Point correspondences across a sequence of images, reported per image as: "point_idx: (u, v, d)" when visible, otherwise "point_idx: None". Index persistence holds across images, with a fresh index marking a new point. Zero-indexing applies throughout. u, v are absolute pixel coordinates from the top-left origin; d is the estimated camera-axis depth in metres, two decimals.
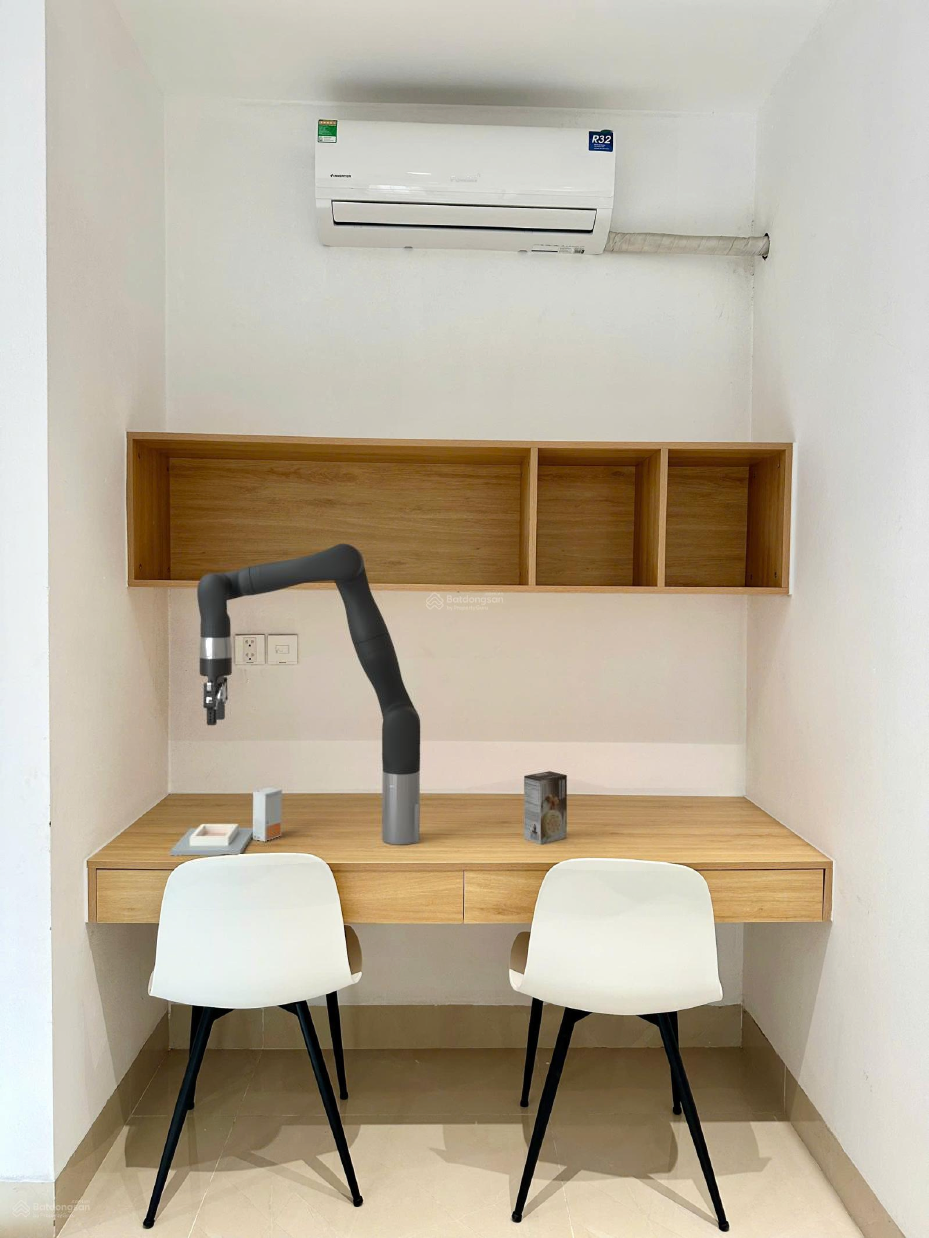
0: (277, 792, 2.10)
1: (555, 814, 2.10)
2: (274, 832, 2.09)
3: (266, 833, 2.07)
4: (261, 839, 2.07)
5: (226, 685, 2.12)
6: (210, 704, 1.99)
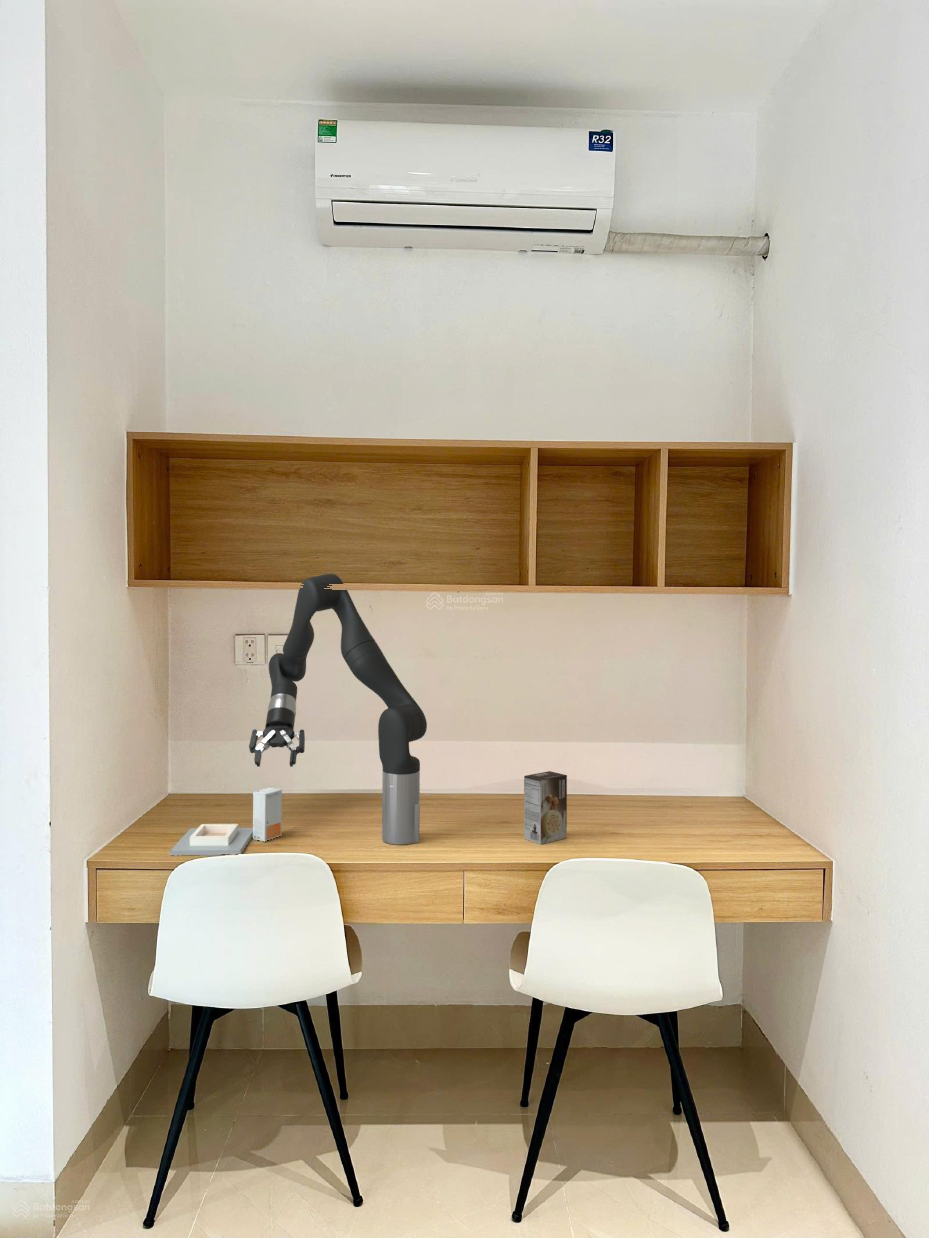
0: (277, 792, 2.10)
1: (555, 814, 2.10)
2: (274, 832, 2.09)
3: (266, 833, 2.07)
4: (261, 839, 2.07)
5: (300, 736, 2.26)
6: None
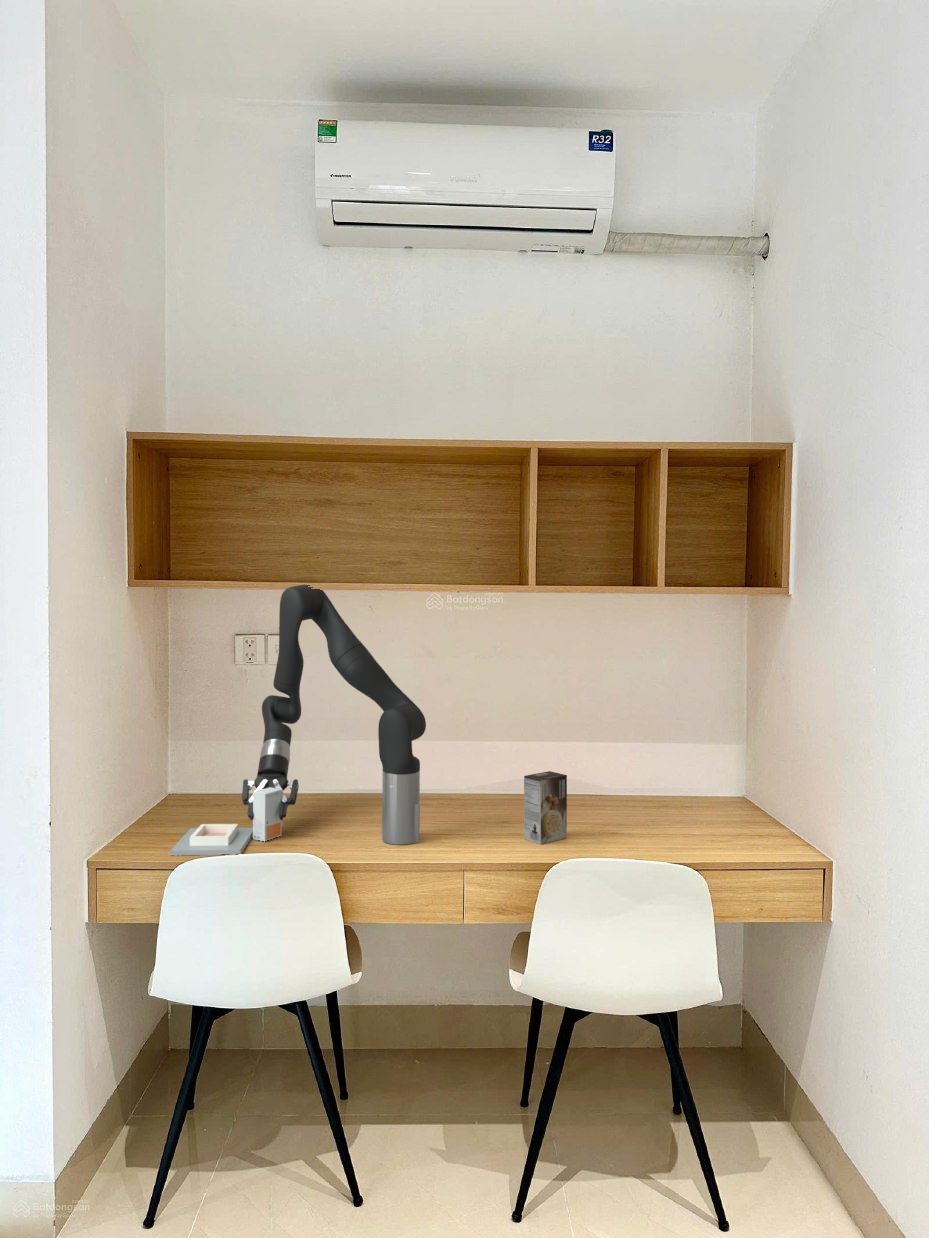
0: (277, 792, 2.10)
1: (555, 814, 2.10)
2: (274, 832, 2.09)
3: (265, 832, 2.07)
4: (261, 839, 2.07)
5: (293, 786, 2.14)
6: None
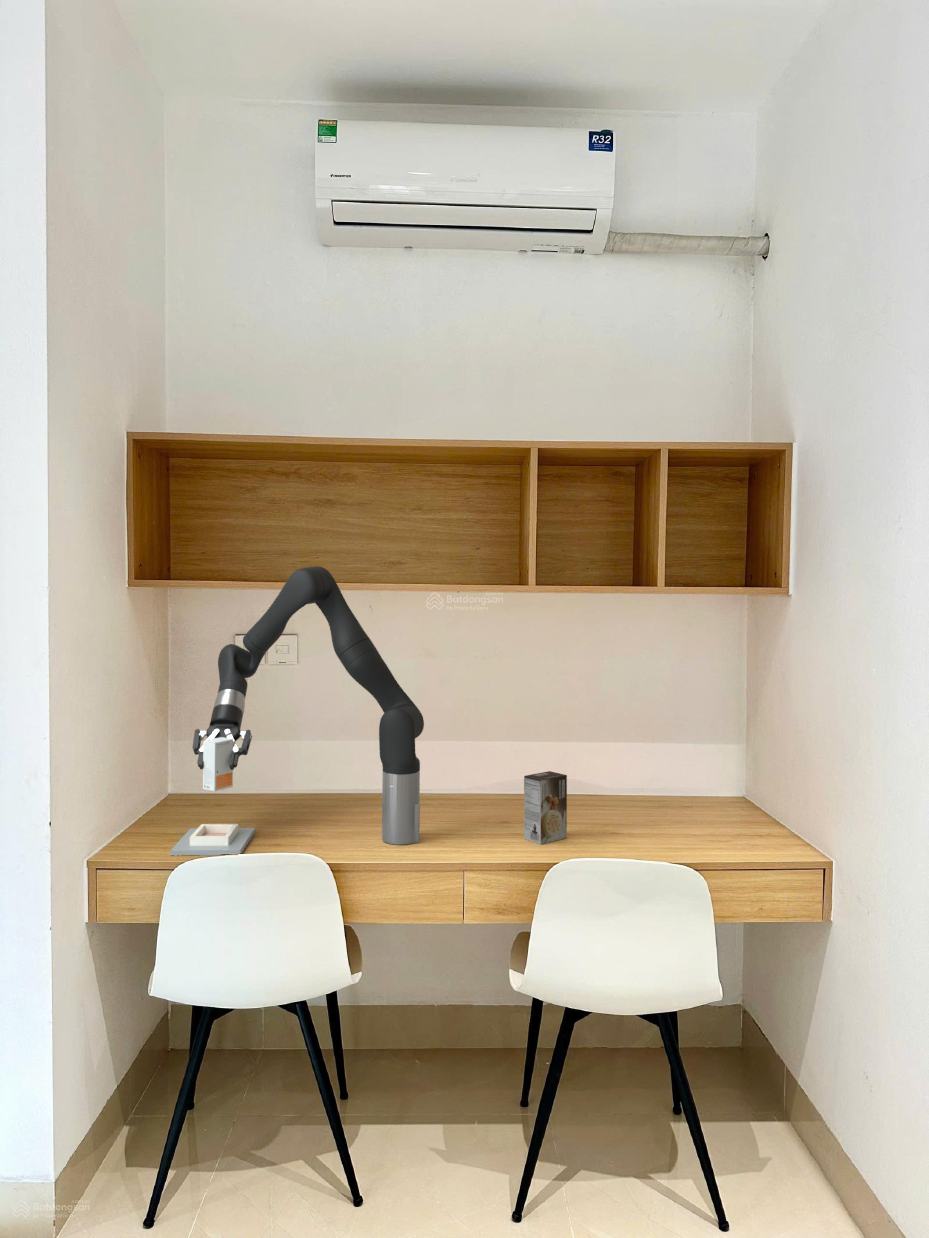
0: (228, 741, 2.06)
1: (555, 814, 2.10)
2: (224, 782, 2.05)
3: (215, 782, 2.03)
4: (211, 788, 2.03)
5: (245, 736, 2.09)
6: None
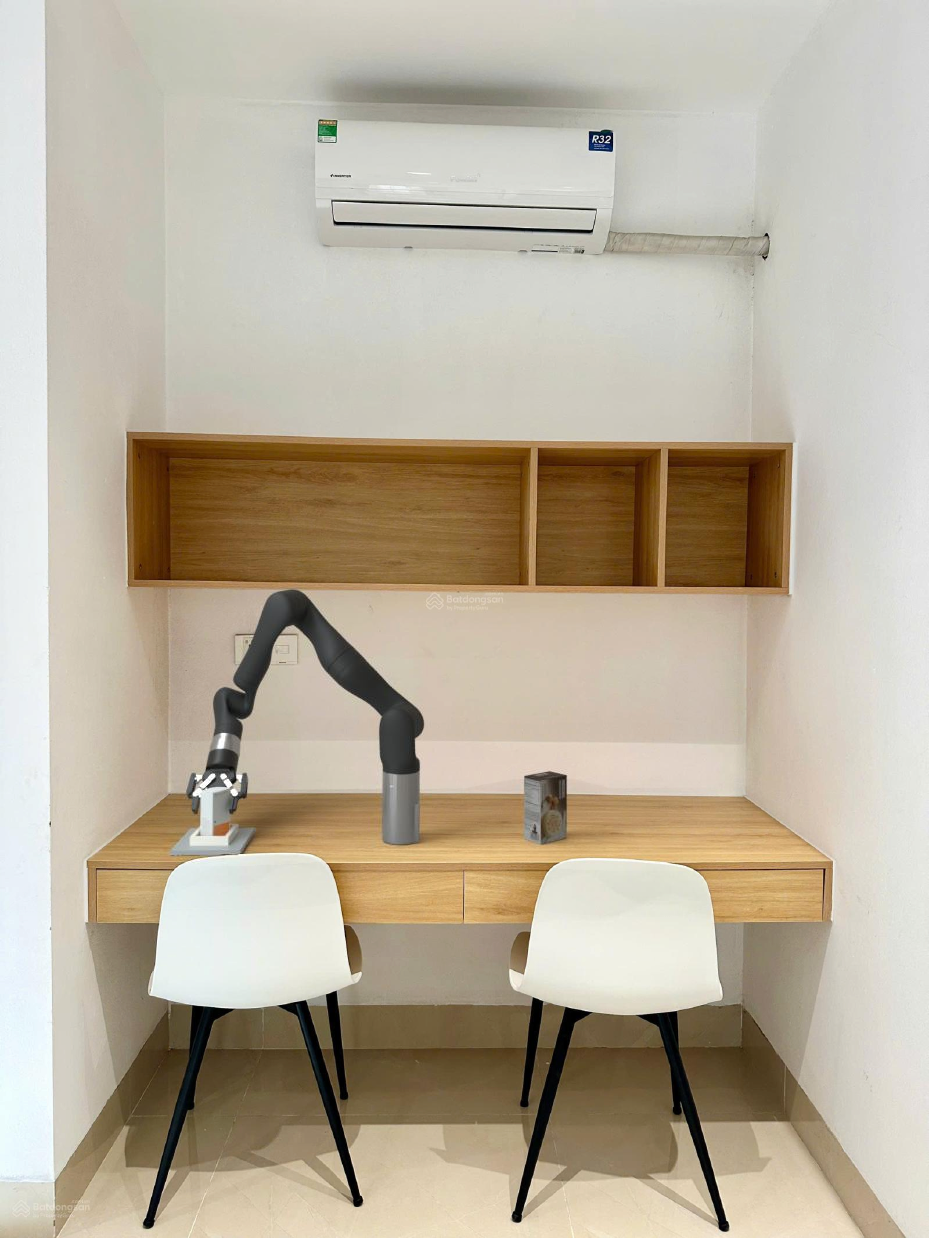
0: (225, 791, 2.05)
1: (555, 814, 2.10)
2: (222, 832, 2.05)
3: (213, 832, 2.02)
4: None
5: (242, 780, 2.09)
6: None
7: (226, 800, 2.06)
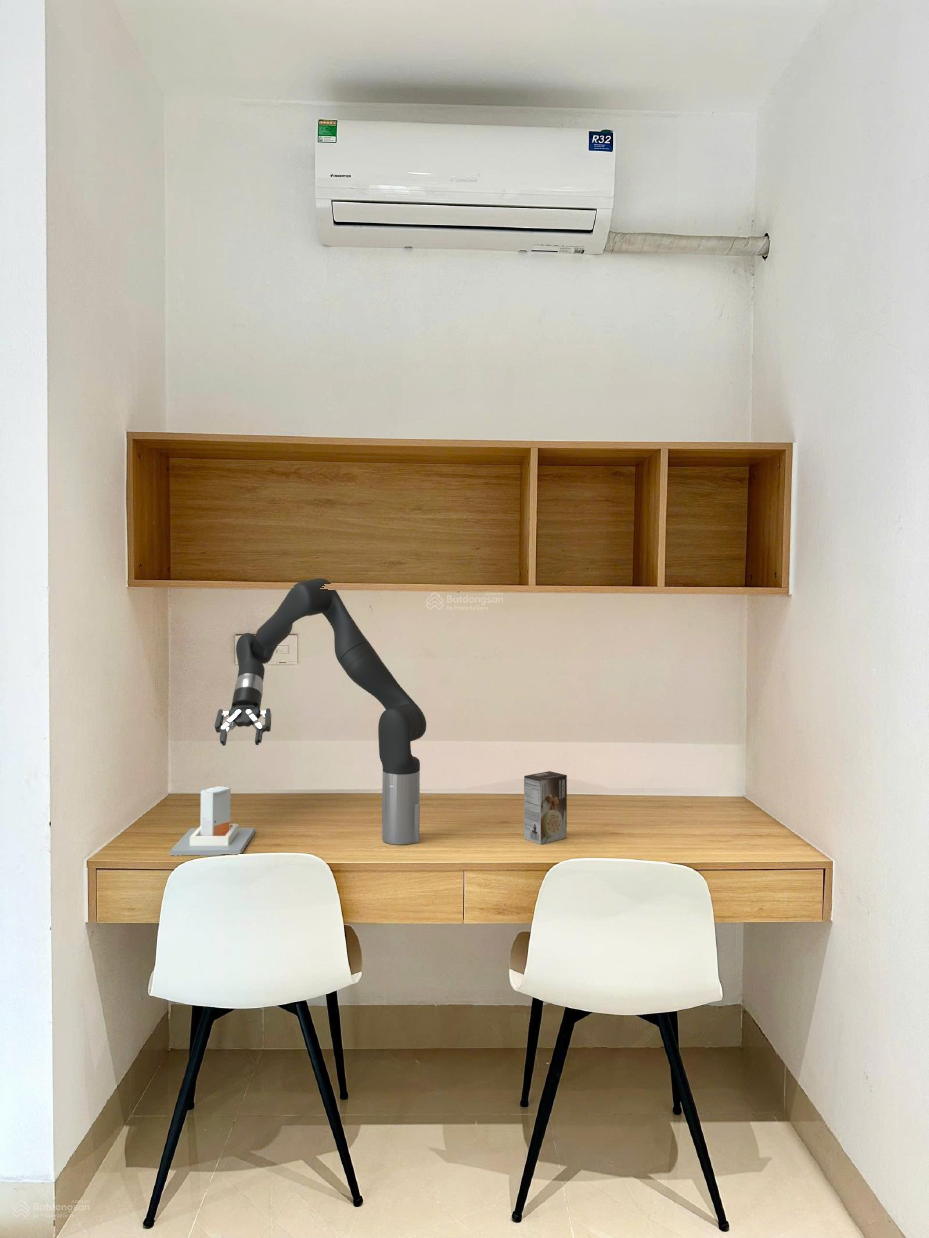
0: (225, 791, 2.05)
1: (555, 814, 2.10)
2: (222, 832, 2.05)
3: (213, 832, 2.02)
4: None
5: (266, 714, 2.25)
6: None
7: (226, 800, 2.06)
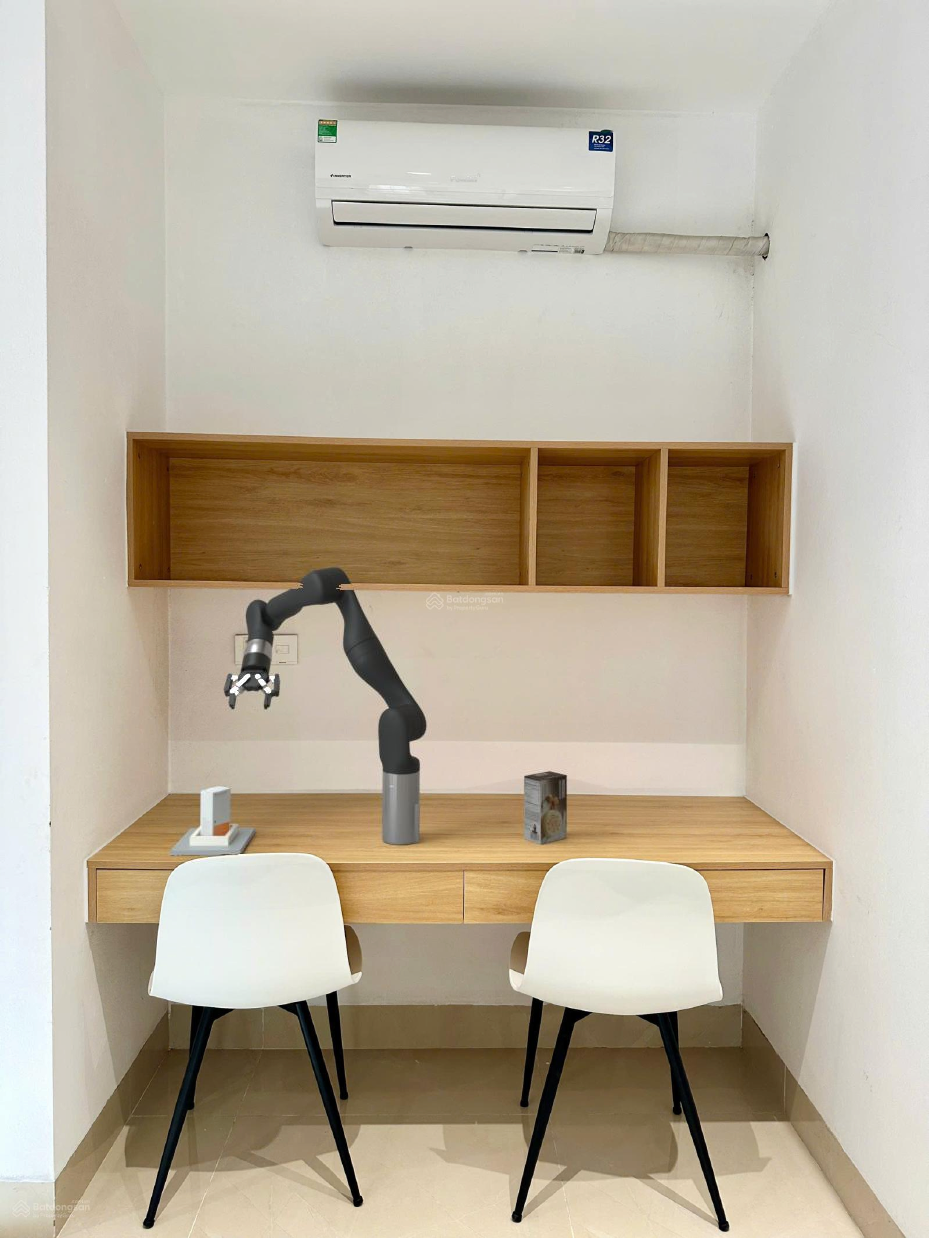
0: (225, 791, 2.05)
1: (555, 814, 2.10)
2: (222, 832, 2.05)
3: (213, 832, 2.02)
4: None
5: (275, 679, 2.26)
6: None
7: (226, 800, 2.06)
